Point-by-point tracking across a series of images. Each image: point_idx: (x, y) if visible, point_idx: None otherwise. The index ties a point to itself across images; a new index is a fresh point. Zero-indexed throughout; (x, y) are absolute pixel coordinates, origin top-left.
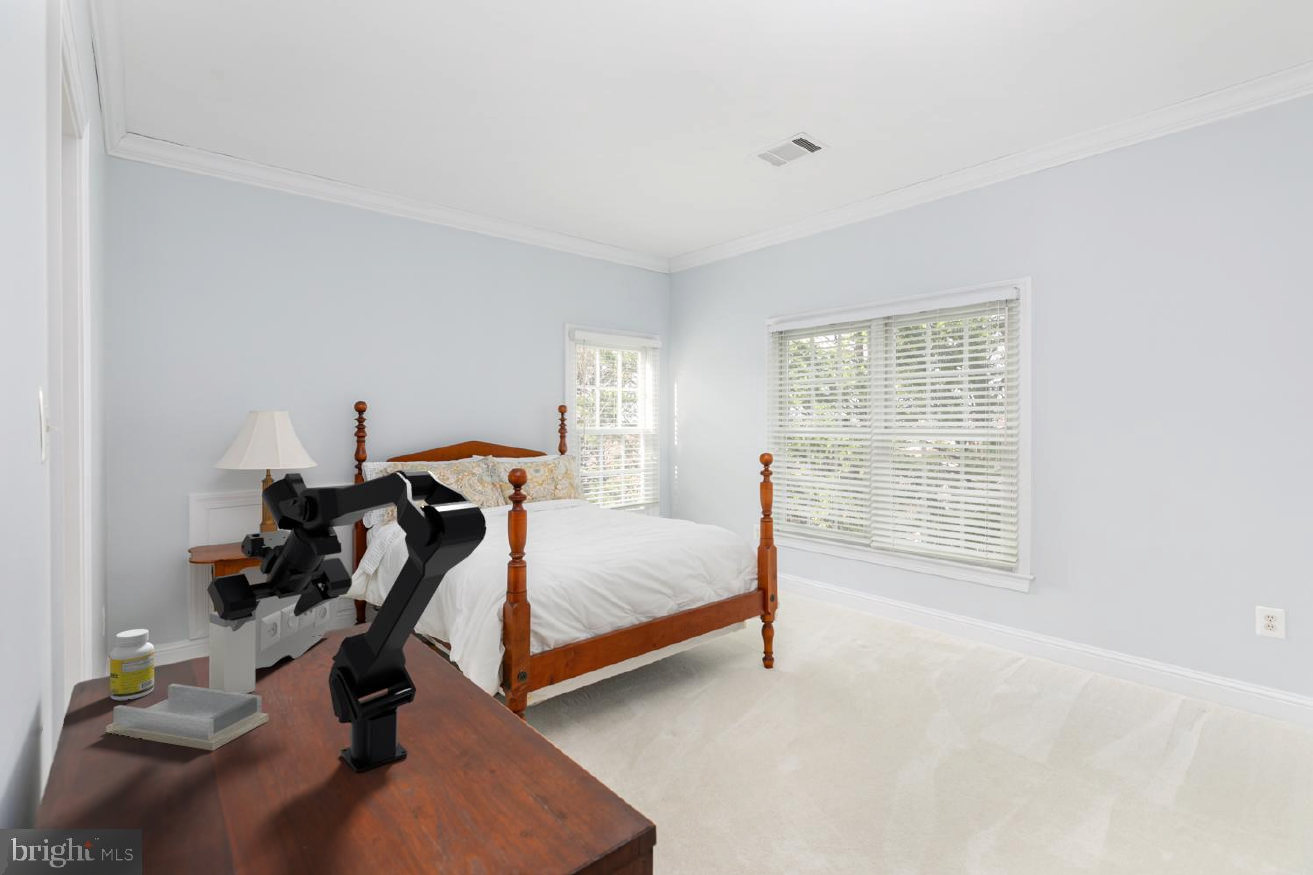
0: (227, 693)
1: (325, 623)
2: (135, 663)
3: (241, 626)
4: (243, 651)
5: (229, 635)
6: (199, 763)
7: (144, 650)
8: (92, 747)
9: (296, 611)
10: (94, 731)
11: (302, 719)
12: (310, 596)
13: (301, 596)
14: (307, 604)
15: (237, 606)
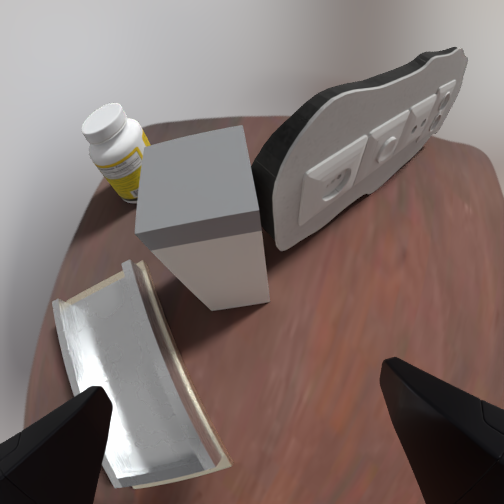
0: (170, 400)
1: (430, 132)
2: (109, 171)
3: (102, 461)
4: (233, 276)
5: (177, 262)
6: (120, 499)
7: (113, 154)
8: (54, 337)
9: (390, 389)
10: (69, 286)
11: (279, 495)
12: (456, 501)
13: (445, 426)
14: (427, 473)
15: None
